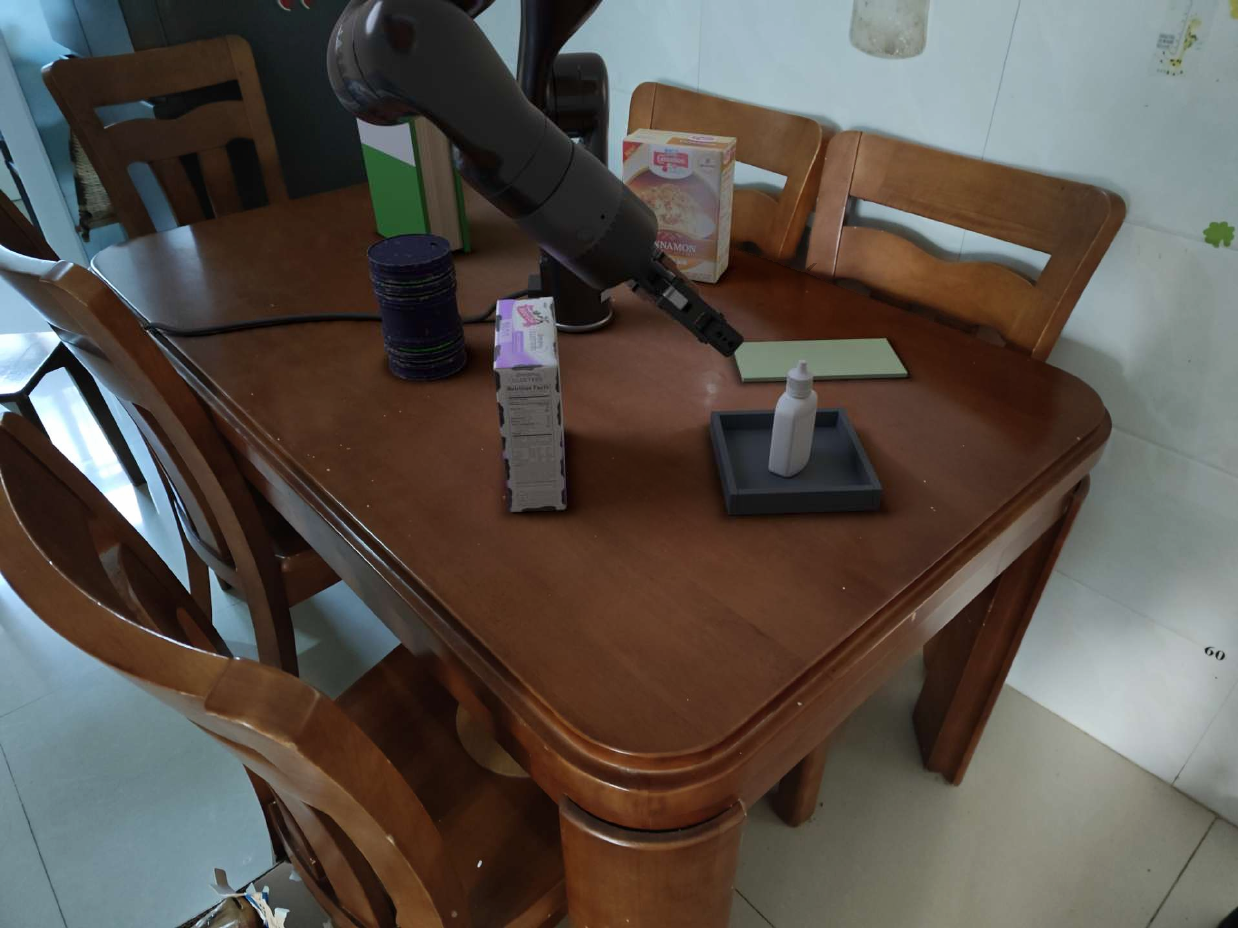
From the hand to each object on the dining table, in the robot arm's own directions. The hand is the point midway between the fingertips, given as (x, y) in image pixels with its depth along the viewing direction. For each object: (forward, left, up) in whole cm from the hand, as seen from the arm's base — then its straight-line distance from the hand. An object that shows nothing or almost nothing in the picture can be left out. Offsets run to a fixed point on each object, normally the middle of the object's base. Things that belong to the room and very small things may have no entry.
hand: (711, 326), depth 72 cm
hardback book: (-39, +69, -18) cm, 82 cm away
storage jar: (-32, +28, -18) cm, 46 cm away
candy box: (-17, +4, -19) cm, 25 cm away
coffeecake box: (+2, +55, -18) cm, 58 cm away
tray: (+9, +3, -18) cm, 21 cm away
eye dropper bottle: (+9, +3, -18) cm, 20 cm away
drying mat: (+17, +25, -18) cm, 36 cm away
